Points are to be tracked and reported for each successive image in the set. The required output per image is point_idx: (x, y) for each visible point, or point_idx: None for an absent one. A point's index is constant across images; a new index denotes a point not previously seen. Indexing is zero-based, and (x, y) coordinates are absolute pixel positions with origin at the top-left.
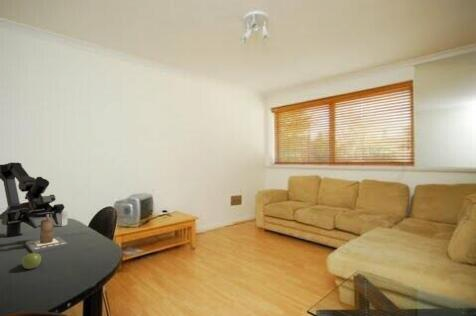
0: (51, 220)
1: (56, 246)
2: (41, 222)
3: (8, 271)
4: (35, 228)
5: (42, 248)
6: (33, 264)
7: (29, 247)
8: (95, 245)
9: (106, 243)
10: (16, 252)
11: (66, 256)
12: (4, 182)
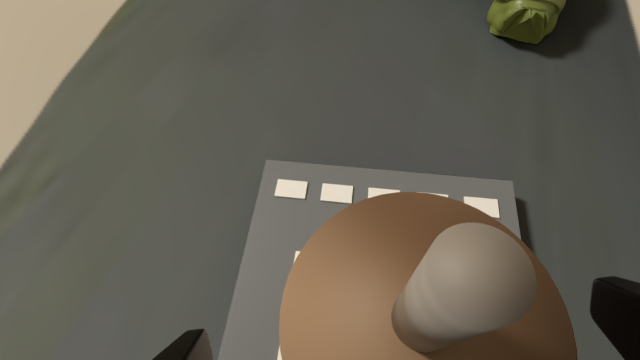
0: (344, 251)
1: (349, 170)
2: (550, 305)
3: (613, 7)
4: (599, 306)
5: (447, 176)
6: None
7: None
8: (168, 67)
9: (110, 58)
10: None
11: (363, 16)
12: None
